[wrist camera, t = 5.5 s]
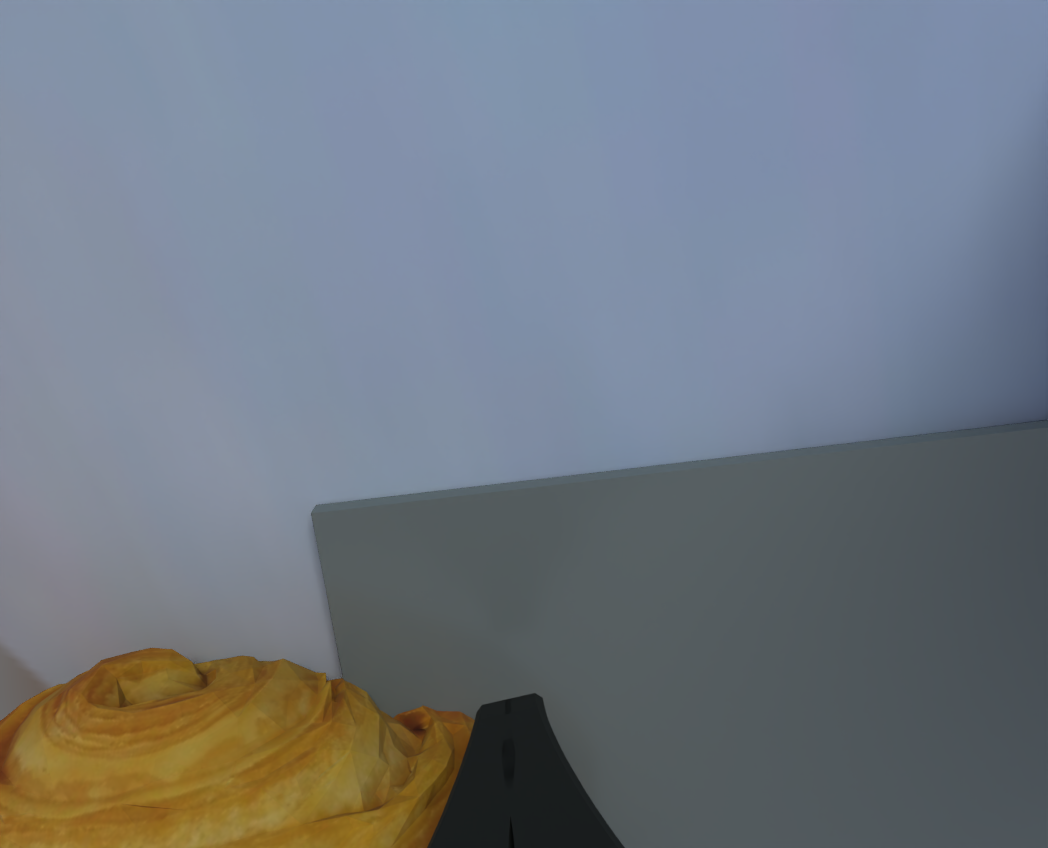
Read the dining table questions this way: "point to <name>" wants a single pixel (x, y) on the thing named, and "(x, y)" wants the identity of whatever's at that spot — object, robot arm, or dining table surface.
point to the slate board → (738, 634)
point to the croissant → (221, 760)
